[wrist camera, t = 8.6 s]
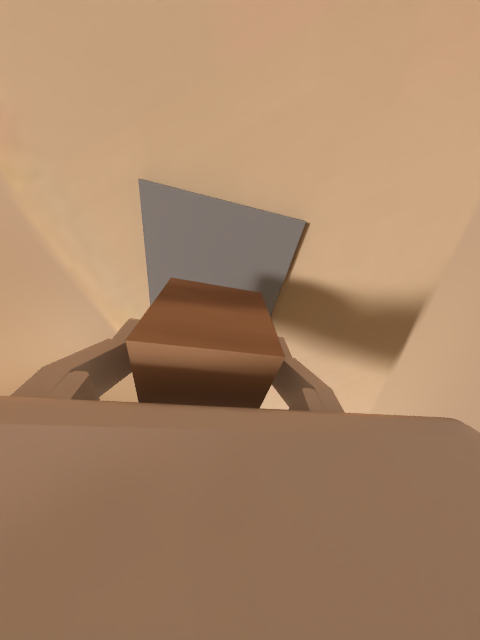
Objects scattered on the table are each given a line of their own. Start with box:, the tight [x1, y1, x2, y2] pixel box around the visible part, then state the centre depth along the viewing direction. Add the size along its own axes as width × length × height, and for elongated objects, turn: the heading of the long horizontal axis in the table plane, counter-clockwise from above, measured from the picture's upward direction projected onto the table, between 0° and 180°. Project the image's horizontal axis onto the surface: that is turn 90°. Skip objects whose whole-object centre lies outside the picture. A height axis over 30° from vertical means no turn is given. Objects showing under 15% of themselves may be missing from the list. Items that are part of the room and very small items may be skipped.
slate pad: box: [138, 179, 306, 316], centre depth 16 cm, size 12×12×1 cm
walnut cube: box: [126, 278, 285, 408], centre depth 9 cm, size 5×5×5 cm
